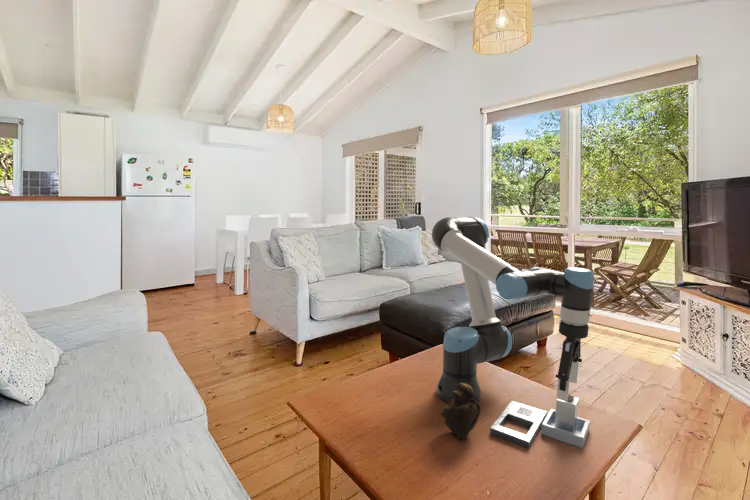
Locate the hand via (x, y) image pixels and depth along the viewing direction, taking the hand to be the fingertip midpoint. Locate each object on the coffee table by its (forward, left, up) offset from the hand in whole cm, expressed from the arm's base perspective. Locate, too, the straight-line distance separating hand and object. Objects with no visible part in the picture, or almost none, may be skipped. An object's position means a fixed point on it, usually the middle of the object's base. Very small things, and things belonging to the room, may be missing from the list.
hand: (567, 390), depth 115 cm
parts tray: (0, 0, -13) cm, 13 cm away
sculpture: (-24, -21, -13) cm, 34 cm away
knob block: (0, 0, -12) cm, 12 cm away
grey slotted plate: (-12, -5, -13) cm, 18 cm away
